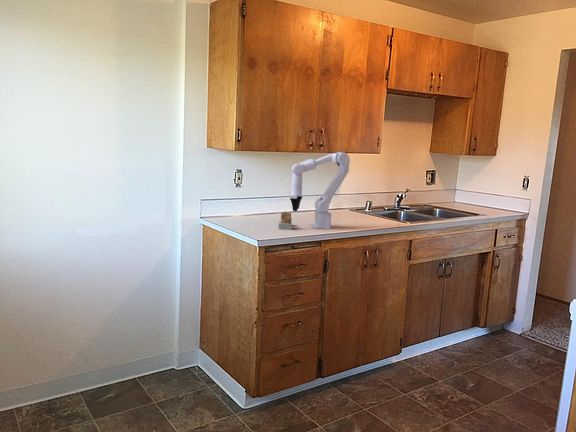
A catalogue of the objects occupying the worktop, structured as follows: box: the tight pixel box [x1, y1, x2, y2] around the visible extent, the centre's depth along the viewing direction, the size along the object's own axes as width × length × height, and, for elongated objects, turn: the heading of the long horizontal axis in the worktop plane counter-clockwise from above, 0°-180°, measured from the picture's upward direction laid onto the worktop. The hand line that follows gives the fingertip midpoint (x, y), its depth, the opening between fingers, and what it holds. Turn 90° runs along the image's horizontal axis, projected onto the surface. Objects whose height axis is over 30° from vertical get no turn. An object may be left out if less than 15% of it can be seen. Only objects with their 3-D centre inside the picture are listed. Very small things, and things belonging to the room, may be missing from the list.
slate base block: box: [278, 220, 293, 231], centre depth 268 cm, size 7×7×4 cm
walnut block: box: [280, 211, 292, 224], centre depth 268 cm, size 4×4×6 cm
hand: (295, 210), depth 273 cm, fingers open, 7 cm apart
